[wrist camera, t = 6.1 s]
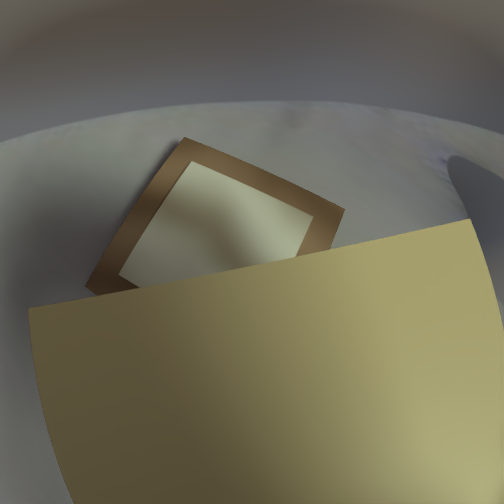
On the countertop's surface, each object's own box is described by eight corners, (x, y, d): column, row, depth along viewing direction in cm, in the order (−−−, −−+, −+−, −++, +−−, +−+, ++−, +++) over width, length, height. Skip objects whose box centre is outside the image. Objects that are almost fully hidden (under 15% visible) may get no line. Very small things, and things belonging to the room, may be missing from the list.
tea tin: (315, 422, 13) (503, 531, 2) (210, 447, 13) (172, 646, 1) (291, 323, 15) (470, 218, 3) (185, 345, 14) (28, 308, 3)
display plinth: (262, 384, 20) (266, 388, 18) (95, 292, 21) (83, 285, 19) (336, 219, 24) (346, 207, 22) (186, 151, 25) (184, 134, 23)
